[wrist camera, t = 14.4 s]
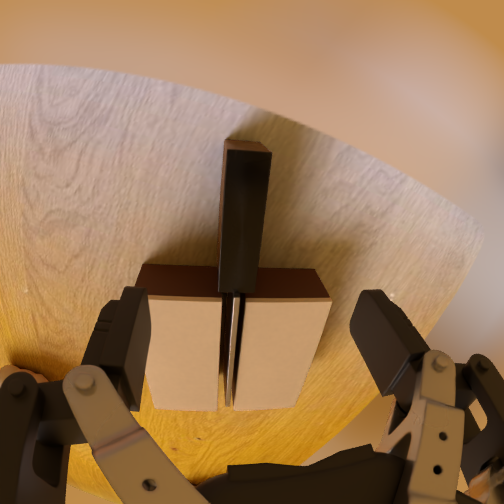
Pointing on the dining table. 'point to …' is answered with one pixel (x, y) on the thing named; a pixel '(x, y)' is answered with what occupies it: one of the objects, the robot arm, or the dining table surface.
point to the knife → (240, 233)
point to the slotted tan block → (247, 339)
